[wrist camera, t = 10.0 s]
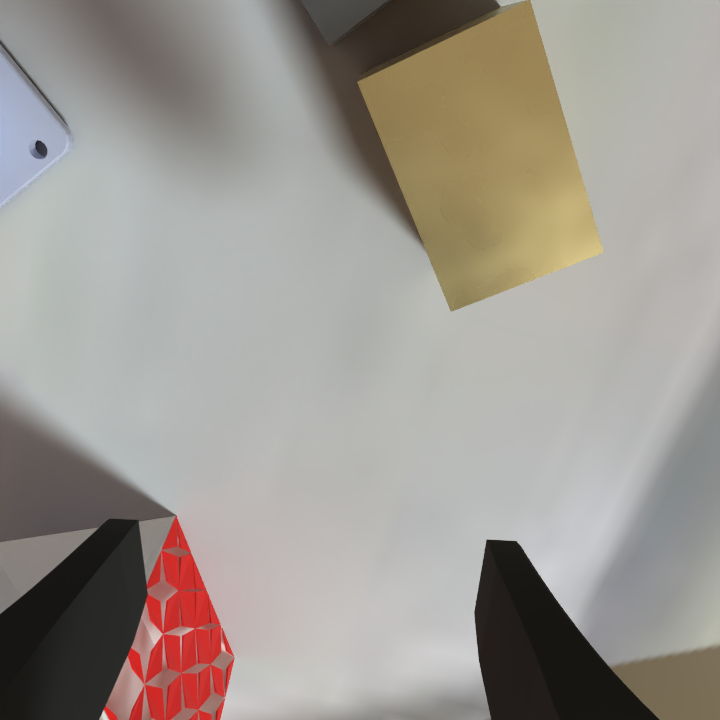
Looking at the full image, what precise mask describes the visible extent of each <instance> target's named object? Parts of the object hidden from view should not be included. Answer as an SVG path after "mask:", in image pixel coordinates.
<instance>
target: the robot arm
mask: <svg viewBox="0 0 720 720" xmlns="http://www.w3.org/2000/svg"><path fill="white" fill-rule="evenodd" d="M37 140H39V141H41V142H43V143H44V144H45V146H46V147H47V156H46V157H43V156H41V155H40V154H39V153H38V152H37V150H36V148H35V143H36V142H37ZM73 142H74V141H73V135H72V133H71V131H70V129H69V128H68V126H67V125H66V124H65V123H64V122H63V120H62V119H61V118H60V117H59V115H58V114H57V113H56V112H55V111H54V109H53V108H52V107H51V106H50V104H49V103H48V102H47V101H46V99H45V98H44V97H43V96H42V95H41V93H40V92H39V91H38V90H37V88H36V87H35V86H34V85H33V84H32V82H31V81H30V80H29V79H28V77H27V76H26V75H25V74H24V73H23V71H22V70H21V69H20V68H19V66H18V65H17V64H16V63H15V62H14V60H13V59H12V58H11V57H10V55H9V54H8V53H7V52H6V51H5V49H4V48H3V47H2V46H1V44H0V208H1V207H2V206H4V205H5V204H6V203H7V202H9V201H10V200H11V199H12V198H13V197H15V196H16V195H17V194H18V193H20V192H21V191H22V190H23V189H25V188H26V187H27V186H28V185H29V184H31V183H32V182H33V181H34V180H36V179H37V178H38V177H39V176H41V175H42V174H43V173H44V172H45V171H47V170H48V169H49V168H50V167H52V166H53V165H54V164H55V163H57V162H58V161H59V160H60V159H61V158H63V157H64V156H65V155H66V154H68V153H69V151H70V150H71V149H72V147H73ZM147 596H148V591H147V583H146V575H145V567H144V559H143V551H142V543H141V535H140V528H139V520H123V519H108V520H107V521H106V522H105V523H104V524H103V525H102V526H100V527H99V528H98V529H97V530H96V531H95V532H94V533H93V534H91V535H90V536H89V537H88V538H87V539H86V540H85V541H84V542H83V543H82V544H81V545H80V546H78V547H77V548H76V549H75V550H74V551H73V552H72V553H71V554H70V555H69V556H67V557H66V558H65V559H64V560H63V561H62V562H61V563H60V564H59V565H58V566H56V567H55V568H54V569H53V570H52V571H51V572H50V573H48V574H47V575H46V576H45V577H44V578H43V579H42V580H40V581H39V582H38V583H37V584H36V585H35V586H33V587H32V588H31V589H30V590H29V591H28V592H27V593H25V594H24V595H23V596H22V597H21V598H19V599H18V600H17V601H16V602H14V603H13V604H12V605H11V606H9V607H8V608H7V609H6V610H4V611H3V612H2V613H1V614H0V720H99V719H100V717H101V715H102V712H103V710H104V708H105V706H106V703H107V701H108V699H109V697H110V694H111V692H112V690H113V688H114V685H115V683H116V681H117V679H118V676H119V674H120V672H121V670H122V667H123V665H124V663H125V660H126V658H127V656H128V654H129V651H130V649H131V646H132V644H133V642H134V639H135V635H136V632H137V629H138V626H139V623H140V620H141V616H142V613H143V609H144V606H145V602H146V599H147ZM474 613H475V624H476V635H477V645H478V655H479V663H480V668H481V673H482V677H483V682H484V687H485V692H486V696H487V701H488V706H489V710H490V715H491V720H659V719H658V718H657V717H656V716H655V715H654V714H653V713H652V712H651V711H650V710H649V709H648V708H647V707H646V706H645V705H644V704H643V703H642V702H641V701H640V700H639V699H638V698H637V697H636V696H635V695H634V693H633V692H632V691H631V690H630V689H629V688H628V687H627V686H626V685H625V684H624V683H623V682H622V681H621V680H620V679H619V677H618V676H617V675H616V674H615V673H614V672H613V671H612V670H611V668H610V667H609V666H608V665H607V664H606V663H605V662H604V660H603V659H602V658H601V657H600V656H599V654H598V653H597V652H596V651H595V650H594V648H593V647H592V646H591V645H590V643H589V642H588V641H587V640H586V638H585V637H584V636H583V635H582V633H581V632H580V631H579V630H578V628H577V627H576V626H575V624H574V623H573V622H572V620H571V619H570V618H569V616H568V615H567V614H566V612H565V611H564V610H563V608H562V607H561V606H560V604H559V603H558V601H557V600H556V599H555V597H554V596H553V594H552V593H551V592H550V590H549V589H548V587H547V586H546V584H545V583H544V581H543V580H542V578H541V577H540V575H539V574H538V572H537V571H536V569H535V568H534V566H533V565H532V563H531V562H530V560H529V558H528V557H527V555H526V554H525V552H524V551H523V549H522V547H521V546H520V545H519V544H518V543H517V541H503V540H487V541H486V547H485V553H484V559H483V565H482V571H481V577H480V583H479V588H478V594H477V600H476V606H475V612H474Z"/></svg>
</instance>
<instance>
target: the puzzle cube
mask: <svg viewBox="0 0 720 720" xmlns="http://www.w3.org/2000/svg"><path fill="white" fill-rule="evenodd" d="M98 528H99V527H98ZM98 528H91V529H85V530H78V531H71V532H64V533H58V534H51V535H44V536H38V537H31V538H24V539H18V540H11V541H4V542H0V614H1V613H2V612H3V611H4V610H6V609H7V608H8V607H9V606H11V605H12V604H13V603H14V602H16V601H17V600H18V599H19V598H21V597H22V596H23V595H24V594H25V593H27V592H28V591H29V590H30V589H31V588H32V587H33V586H35V585H36V584H37V583H38V582H39V581H40V580H42V579H43V578H44V577H45V576H46V575H47V574H48V573H50V572H51V571H52V570H53V569H54V568H55V567H56V566H58V565H59V564H60V563H61V562H62V561H63V560H64V559H65V558H66V557H67V556H69V555H70V554H71V553H72V552H73V551H74V550H75V549H76V548H77V547H78V546H80V545H81V544H82V543H83V542H84V541H85V540H86V539H87V538H88V537H89V536H90V535H91V534H93V533H94V532H95V531H96V530H97V529H98ZM139 528H140V535H141V543H142V551H143V559H144V567H145V575H146V583H147V591H148V596H147V599H146V602H145V606H144V609H143V613H142V616H141V620H140V623H139V626H138V629H137V632H136V635H135V639H134V642H133V644H132V646H131V649H130V651H129V654H128V656H127V658H126V660H125V663H124V665H123V667H122V670H121V672H120V674H119V676H118V679H117V681H116V683H115V685H114V688H113V690H112V692H111V694H110V697H109V699H108V701H107V703H106V706H105V708H104V710H103V712H102V715H101V717H100V719H99V720H220V718H221V714H222V709H223V705H224V701H225V696H226V692H227V688H228V684H229V679H230V675H231V671H232V666H233V662H234V657H233V653H232V651H231V648H230V646H229V643H228V641H227V638H226V636H225V634H224V631H223V629H221V625H220V622H219V620H218V617H217V615H216V613H215V610H214V608H213V605H212V603H211V600H210V598H209V595H208V593H207V591H206V588H205V586H204V583H203V581H202V578H201V576H200V573H199V571H198V568H197V566H196V564H195V561H194V559H193V556H192V554H191V551H190V549H189V546H188V544H187V541H186V539H185V536H184V534H183V532H182V529H181V527H180V524H179V522H178V519H177V516H172V517H165V518H158V519H152V520H145V521H139Z"/></svg>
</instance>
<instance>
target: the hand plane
mask: <svg viewBox="0 0 720 720" xmlns="http://www.w3.org/2000/svg"><path fill="white" fill-rule="evenodd" d="M300 1H301V2H302V4H303V5H304V7H305V9H306V10H307V12H308V13H309V15H310V17H311V18H312V20H313V21H314V23H315V25H316V26H317V28H318V29H319V31H320V33H321V34H322V36H323V37H324V39H325V40H326V42H327V44H328V45H334V44H336V43H337V42H339V41H340V40H341V39H343V38H344V37H345V36H347V35H348V34H349V33H351V32H352V31H353V30H355V29H356V28H357V27H359V26H360V25H361V24H362V23H364V22H365V21H366V20H368V19H369V18H370V17H372V16H373V15H374V14H376V13H377V12H378V11H380V10H381V9H382V8H384V7H385V6H386V5H387V4H389V3H390V2H391V1H393V0H300Z"/></svg>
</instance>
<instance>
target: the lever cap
mask: <svg viewBox="0 0 720 720" xmlns="http://www.w3.org/2000/svg"><path fill="white" fill-rule="evenodd" d="M357 83H358V86H359V88H360V90H361V93H362V95H363V98H364V100H365V103H366V105H367V108H368V110H369V112H370V115H371V117H372V120H373V122H374V125H375V127H376V130H377V132H378V134H379V137H380V139H381V142H382V144H383V147H384V149H385V152H386V154H387V156H388V159H389V161H390V164H391V166H392V169H393V171H394V174H395V176H396V178H397V181H398V183H399V186H400V188H401V191H402V193H403V196H404V198H405V200H406V203H407V205H408V208H409V210H410V213H411V215H412V217H413V220H414V222H415V225H416V227H417V230H418V232H419V235H420V237H421V239H422V242H423V244H424V247H425V249H426V252H427V254H428V257H429V259H430V261H431V264H432V266H433V269H434V271H435V274H436V276H437V279H438V281H439V283H440V286H441V288H442V291H443V293H444V296H445V298H446V301H447V303H448V305H449V308H450V310H451V311H454V310H457V309H459V308H462V307H464V306H467V305H469V304H472V303H475V302H477V301H480V300H482V299H485V298H488V297H490V296H493V295H495V294H498V293H500V292H503V291H506V290H508V289H511V288H513V287H516V286H518V285H521V284H524V283H526V282H529V281H531V280H534V279H536V278H539V277H542V276H544V275H547V274H549V273H552V272H554V271H557V270H560V269H562V268H565V267H567V266H570V265H573V264H575V263H578V262H580V261H583V260H585V259H588V258H591V257H593V256H596V255H598V254H601V253H603V248H602V245H601V241H600V238H599V234H598V231H597V228H596V224H595V221H594V217H593V214H592V210H591V207H590V204H589V200H588V197H587V193H586V190H585V187H584V183H583V180H582V176H581V173H580V169H579V166H578V163H577V159H576V156H575V152H574V149H573V145H572V142H571V139H570V135H569V132H568V128H567V125H566V121H565V118H564V115H563V111H562V108H561V104H560V101H559V98H558V94H557V91H556V87H555V84H554V80H553V77H552V74H551V70H550V67H549V63H548V60H547V56H546V53H545V50H544V46H543V43H542V39H541V36H540V33H539V29H538V26H537V22H536V19H535V15H534V12H533V9H532V5H531V2H530V0H526V1H522V2H518V3H514V4H510V5H506V6H502V7H499V8H497V9H495V10H493V11H491V12H489V13H487V14H485V15H483V16H481V17H479V18H476V19H474V20H472V21H470V22H468V23H466V24H464V25H462V26H460V27H458V28H456V29H453V30H451V31H449V32H447V33H445V34H443V35H441V36H439V37H437V38H435V39H433V40H431V41H428V42H426V43H424V44H422V45H420V46H418V47H416V48H414V49H412V50H410V51H408V52H405V53H403V54H401V55H399V56H397V57H395V58H393V59H391V60H389V61H387V62H385V63H383V64H380V65H378V66H376V67H374V68H372V69H370V70H368V71H366V72H364V73H362V74H361V76H360V78H359V79H358V81H357Z"/></svg>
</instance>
